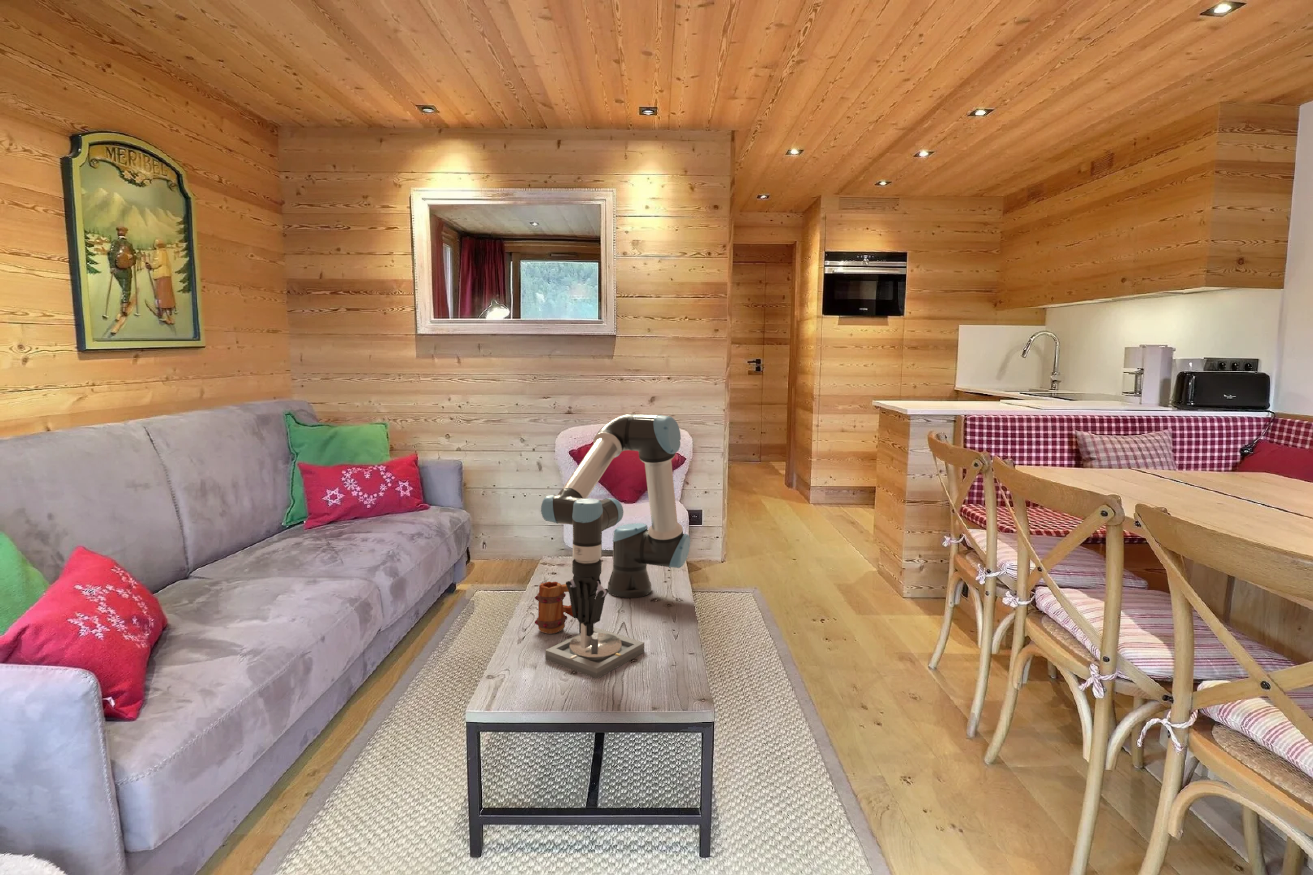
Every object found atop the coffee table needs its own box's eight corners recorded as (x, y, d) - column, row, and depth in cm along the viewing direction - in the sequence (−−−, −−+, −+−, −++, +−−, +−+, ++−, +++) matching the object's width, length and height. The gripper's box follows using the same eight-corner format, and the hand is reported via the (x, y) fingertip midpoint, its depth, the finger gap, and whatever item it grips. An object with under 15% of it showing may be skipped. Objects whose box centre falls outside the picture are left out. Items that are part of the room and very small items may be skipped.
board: (594, 635, 199) (594, 625, 198) (644, 651, 188) (644, 641, 188) (545, 659, 183) (545, 648, 182) (596, 678, 172) (596, 667, 172)
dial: (571, 639, 192) (571, 619, 191) (621, 639, 193) (621, 618, 192) (567, 661, 178) (567, 639, 177) (621, 661, 179) (621, 639, 178)
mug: (536, 637, 197) (535, 587, 195) (533, 627, 205) (533, 578, 203) (586, 633, 201) (586, 583, 199) (582, 622, 209) (582, 574, 207)
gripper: (558, 557, 178) (558, 644, 181) (596, 567, 170) (595, 657, 173) (578, 551, 184) (577, 635, 187) (615, 560, 176) (614, 648, 179)
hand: (586, 646), depth 180 cm, fingers closed
